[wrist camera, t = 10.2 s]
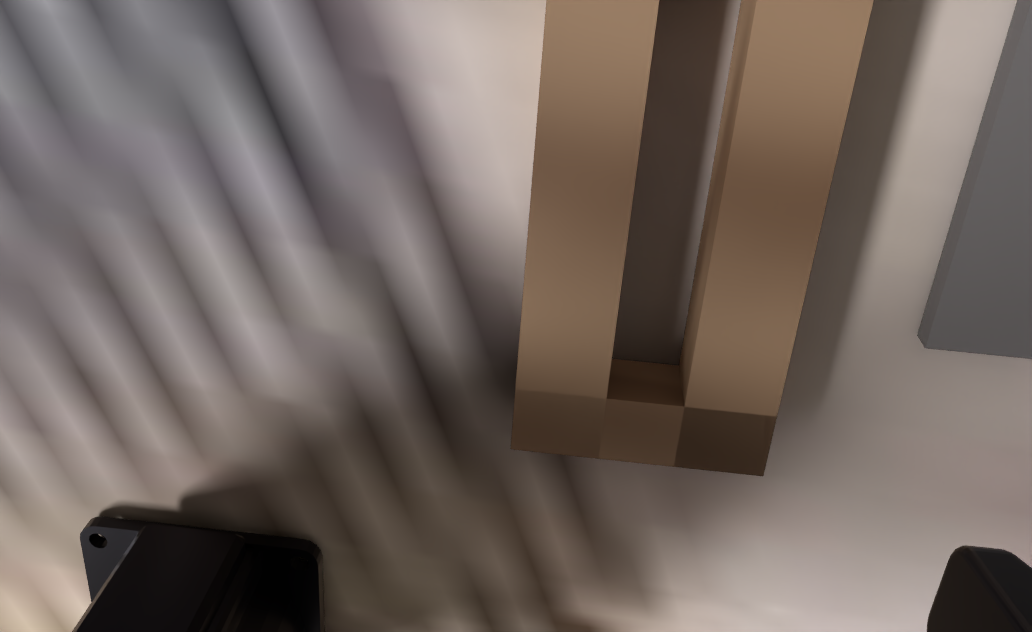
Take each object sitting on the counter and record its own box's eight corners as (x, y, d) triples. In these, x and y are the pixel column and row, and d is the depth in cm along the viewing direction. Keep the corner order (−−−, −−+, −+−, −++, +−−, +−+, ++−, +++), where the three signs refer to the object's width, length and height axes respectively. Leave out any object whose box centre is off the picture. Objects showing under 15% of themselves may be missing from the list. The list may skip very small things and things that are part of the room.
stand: (752, 431, 23) (763, 476, 21) (517, 406, 23) (510, 449, 22) (872, -114, 17) (898, -108, 16) (561, -138, 18) (557, -134, 16)
